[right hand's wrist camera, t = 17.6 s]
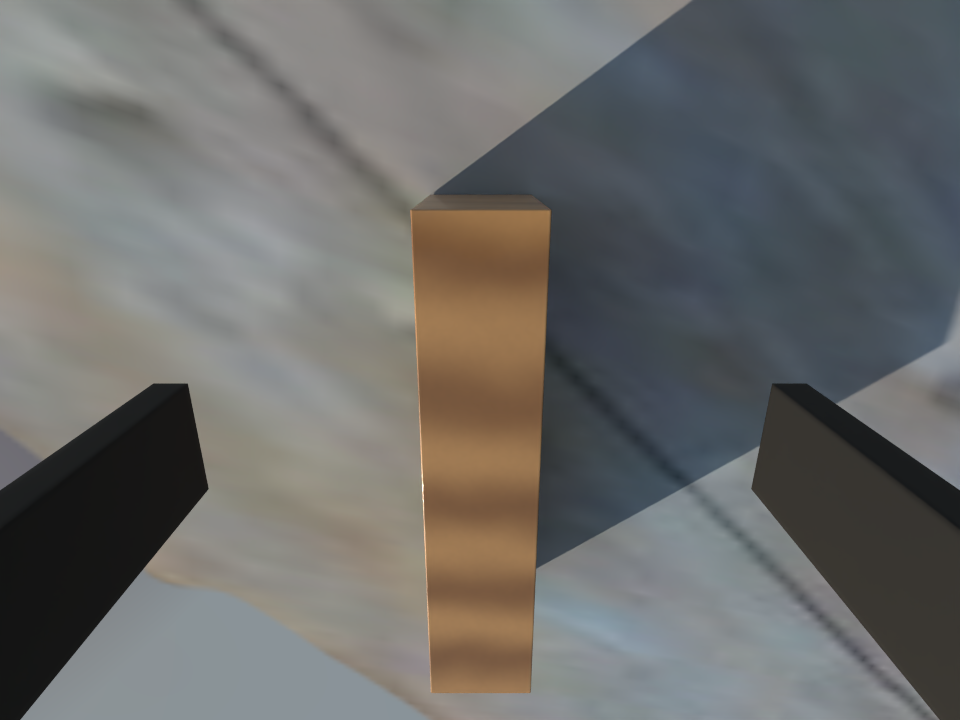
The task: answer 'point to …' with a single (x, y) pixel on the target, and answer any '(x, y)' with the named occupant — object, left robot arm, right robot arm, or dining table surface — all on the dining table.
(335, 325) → the dining table surface
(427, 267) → the bar
